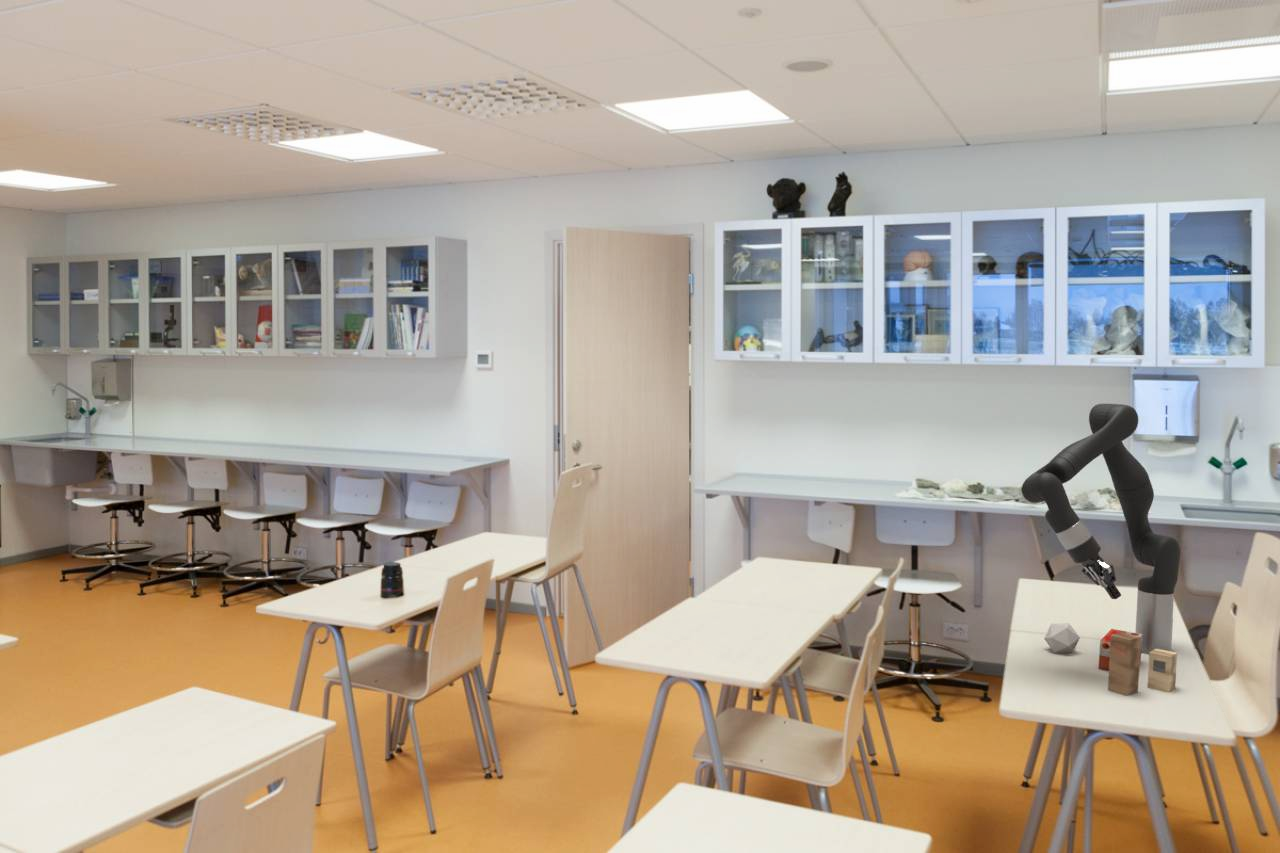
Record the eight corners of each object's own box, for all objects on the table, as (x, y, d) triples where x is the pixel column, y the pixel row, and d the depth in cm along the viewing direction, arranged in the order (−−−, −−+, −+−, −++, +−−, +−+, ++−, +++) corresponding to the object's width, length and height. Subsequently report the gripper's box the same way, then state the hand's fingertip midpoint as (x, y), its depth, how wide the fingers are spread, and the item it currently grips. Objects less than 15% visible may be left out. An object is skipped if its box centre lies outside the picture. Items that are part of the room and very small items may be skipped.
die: (1074, 660, 284) (1089, 630, 286) (1046, 643, 285) (1061, 613, 287) (1062, 662, 291) (1076, 633, 294) (1035, 645, 293) (1049, 616, 295)
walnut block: (1118, 686, 260) (1121, 632, 259) (1137, 691, 256) (1140, 636, 255) (1107, 690, 257) (1110, 635, 256) (1127, 695, 253) (1130, 640, 252)
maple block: (1154, 682, 263) (1156, 648, 262) (1175, 687, 260) (1177, 652, 259) (1147, 687, 259) (1149, 652, 259) (1168, 692, 256) (1170, 657, 255)
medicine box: (1131, 675, 269) (1132, 645, 268) (1097, 669, 274) (1099, 640, 273) (1141, 661, 281) (1143, 633, 281) (1109, 656, 286) (1111, 628, 285)
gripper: (1101, 531, 260) (1142, 589, 259) (1077, 534, 273) (1115, 589, 272) (1078, 547, 259) (1118, 606, 258) (1054, 549, 273) (1093, 605, 271)
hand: (1116, 597), depth 265 cm, fingers closed
